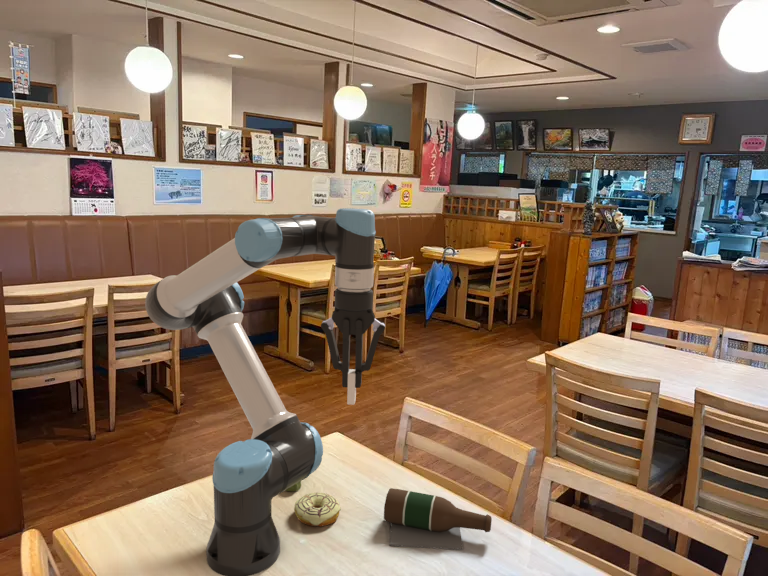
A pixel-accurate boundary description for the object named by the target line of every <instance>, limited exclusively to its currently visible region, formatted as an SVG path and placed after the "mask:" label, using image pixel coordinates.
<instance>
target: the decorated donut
mask: <svg viewBox="0 0 768 576" xmlns="http://www.w3.org/2000/svg"><path fill="white" fill-rule="evenodd" d="M293 511H294V514H295V515H296V518H297V519H298V521H300V522H301V523H302V524H304V525H306V526H307V525H308V526H311V527H312V526H314V527H320V528H322V527H324V526H328V525H331V524H334V523H336V522H337V519H339V516H340V511H341V506H340V502H339V500H338V499H337V498H335V497H334V495H330V494H328V493H325V492H311V493H306V494H304V495H303V496H301V497H300V498H298V499H297V500H295V503H294V508H293Z"/></svg>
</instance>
